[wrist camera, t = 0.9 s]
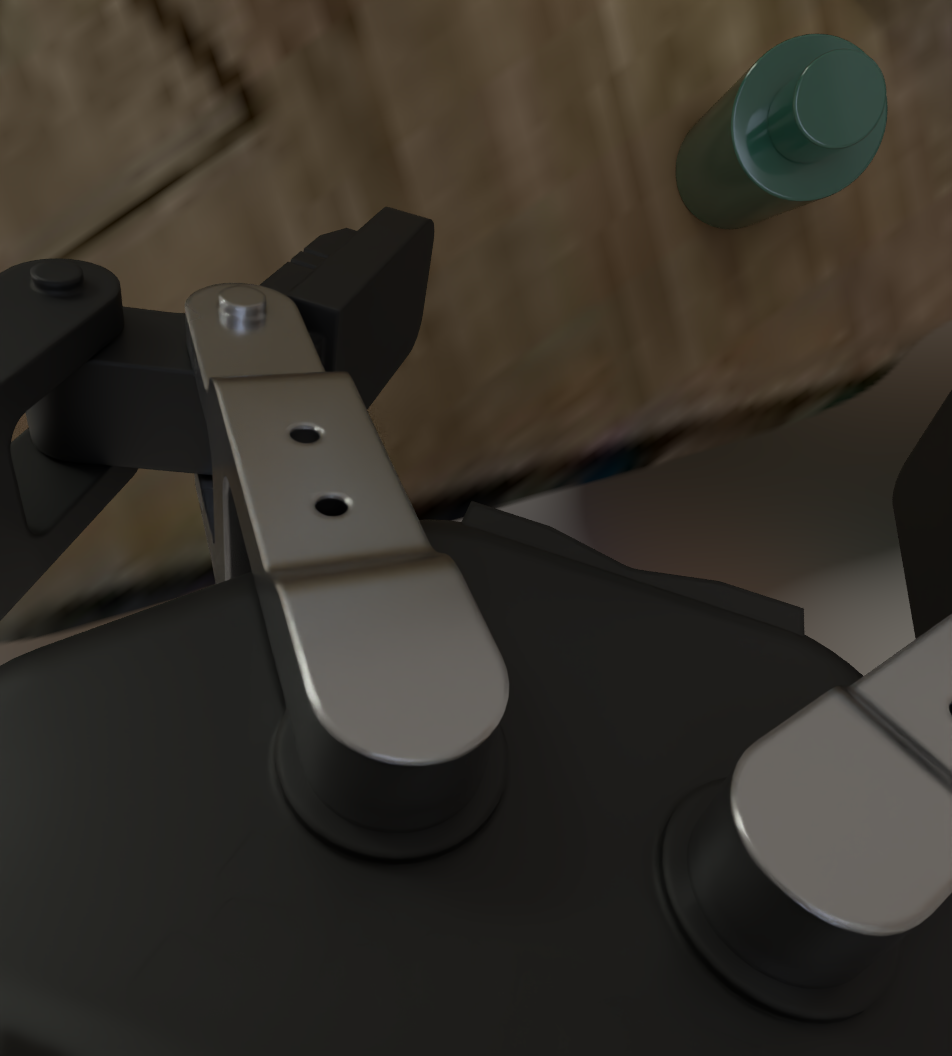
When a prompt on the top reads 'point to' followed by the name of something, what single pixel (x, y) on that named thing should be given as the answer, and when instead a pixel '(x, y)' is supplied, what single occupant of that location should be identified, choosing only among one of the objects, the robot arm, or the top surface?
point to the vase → (784, 133)
